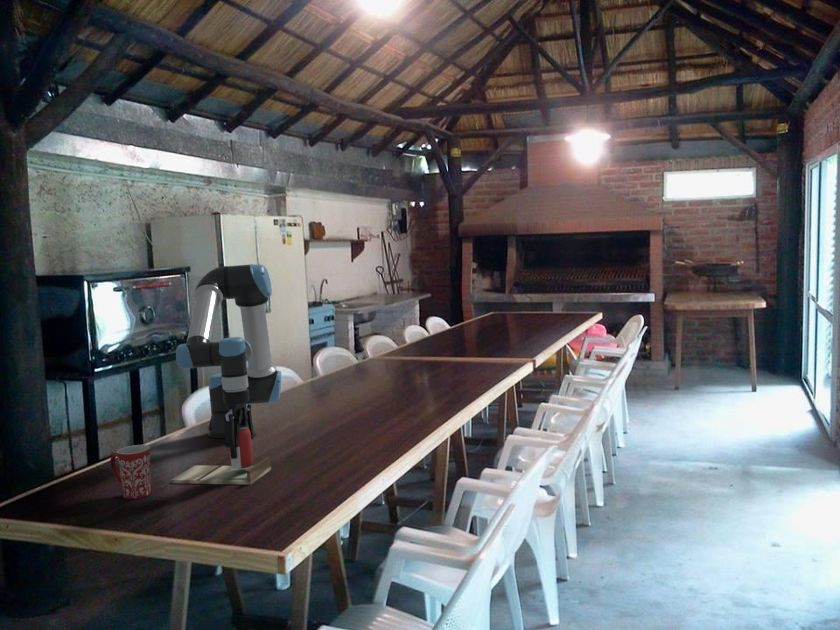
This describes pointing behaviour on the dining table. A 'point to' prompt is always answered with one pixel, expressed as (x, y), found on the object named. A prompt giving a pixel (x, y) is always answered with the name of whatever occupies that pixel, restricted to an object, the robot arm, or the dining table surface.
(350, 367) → the dining table surface
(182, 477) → the beige green bent panel
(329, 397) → the dining table surface
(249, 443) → the beer can
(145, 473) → the mug
